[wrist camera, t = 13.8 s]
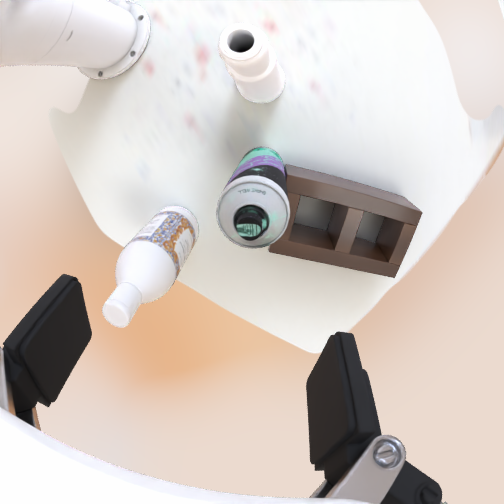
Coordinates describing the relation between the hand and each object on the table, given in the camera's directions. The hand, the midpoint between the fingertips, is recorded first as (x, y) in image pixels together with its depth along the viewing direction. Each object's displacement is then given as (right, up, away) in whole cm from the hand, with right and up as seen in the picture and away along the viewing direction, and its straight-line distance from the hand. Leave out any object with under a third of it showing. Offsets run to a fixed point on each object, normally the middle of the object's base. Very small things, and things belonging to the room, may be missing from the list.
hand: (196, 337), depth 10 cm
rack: (+14, +8, +29) cm, 33 cm away
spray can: (+3, +14, +27) cm, 30 cm away
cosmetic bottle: (+3, +24, +21) cm, 32 cm away
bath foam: (-9, +7, +32) cm, 33 cm away
